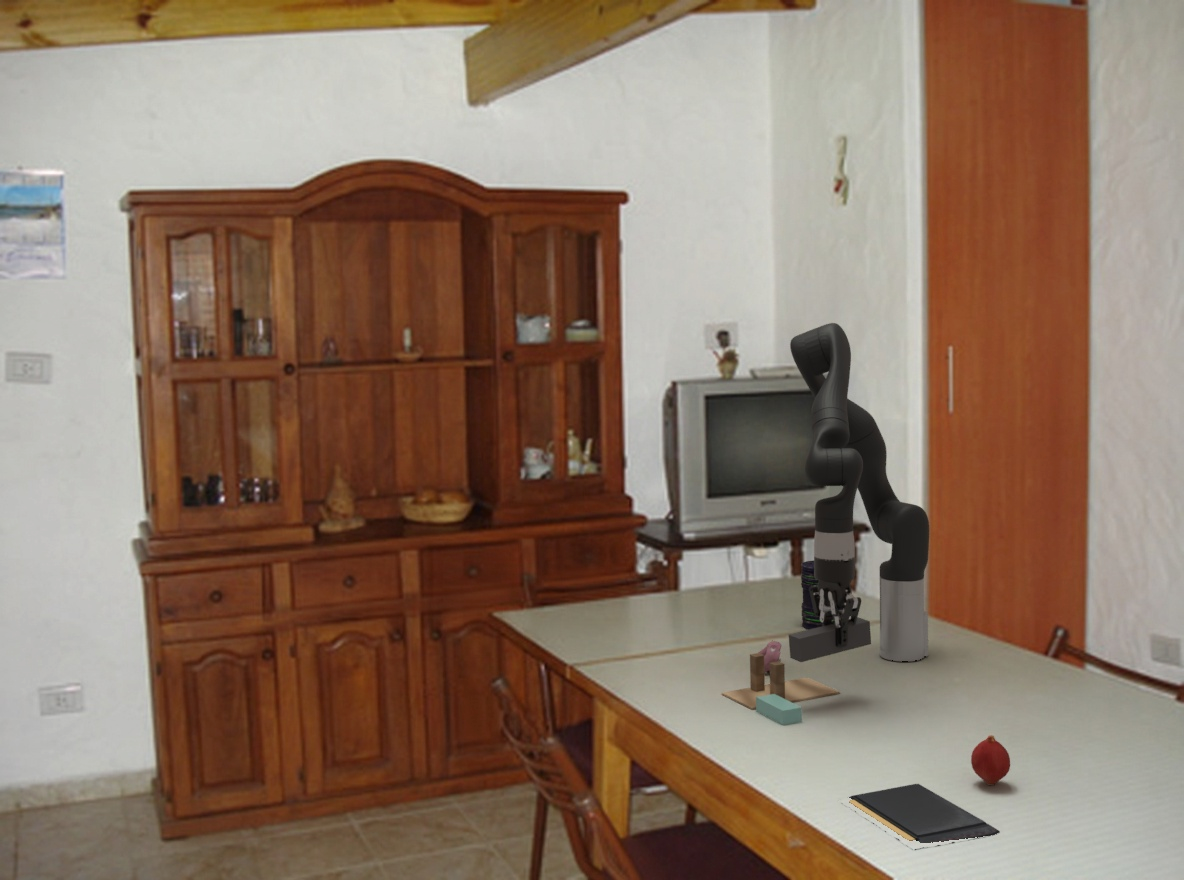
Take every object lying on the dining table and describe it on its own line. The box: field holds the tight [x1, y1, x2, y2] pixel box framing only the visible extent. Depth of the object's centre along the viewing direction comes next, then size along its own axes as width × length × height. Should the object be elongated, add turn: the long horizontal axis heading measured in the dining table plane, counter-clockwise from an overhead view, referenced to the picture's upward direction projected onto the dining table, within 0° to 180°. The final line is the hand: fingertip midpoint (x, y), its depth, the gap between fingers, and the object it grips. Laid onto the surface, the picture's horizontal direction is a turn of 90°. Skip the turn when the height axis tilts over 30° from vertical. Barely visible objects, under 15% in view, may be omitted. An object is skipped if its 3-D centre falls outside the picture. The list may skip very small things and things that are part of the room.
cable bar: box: [788, 617, 872, 663], centre depth 233 cm, size 16×4×4 cm, turn 115°
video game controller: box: [757, 639, 783, 674], centre depth 258 cm, size 10×5×7 cm, turn 169°
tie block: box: [755, 694, 803, 726], centre depth 227 cm, size 4×9×3 cm, turn 24°
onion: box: [970, 734, 1011, 786], centre depth 192 cm, size 6×6×8 cm
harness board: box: [721, 652, 841, 711], centre depth 240 cm, size 20×11×7 cm, turn 115°
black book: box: [848, 783, 1000, 843], centre depth 181 cm, size 20×2×15 cm
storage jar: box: [800, 560, 844, 630], centre depth 291 cm, size 10×10×15 cm
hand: (834, 643), depth 233 cm, fingers closed on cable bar, 3 cm apart
